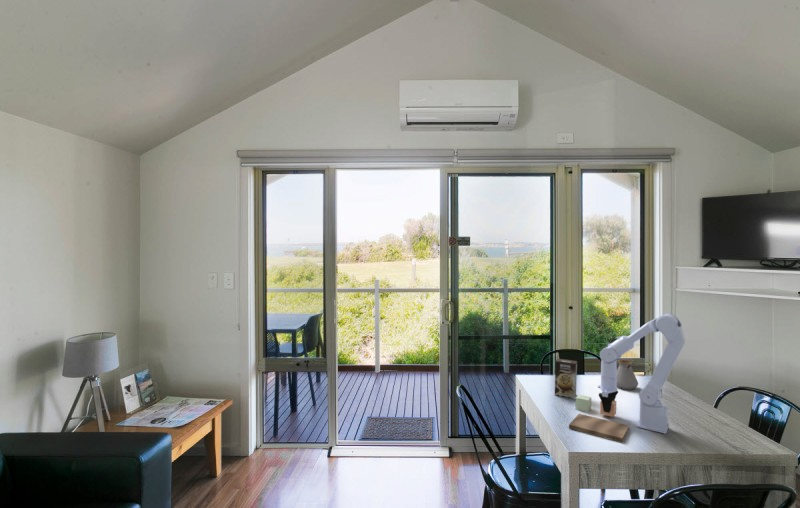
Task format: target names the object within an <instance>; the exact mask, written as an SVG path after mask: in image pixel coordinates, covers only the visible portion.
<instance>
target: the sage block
mask: <svg viewBox="0 0 800 508" xmlns="http://www.w3.org/2000/svg"><path fill="white" fill-rule="evenodd" d="M577 409H579V410H578V411H581V410H582V412H586V413H589V412H590V411H591V409H592V396H587V395H583V394H578V395H576V397H575V410H577Z"/></svg>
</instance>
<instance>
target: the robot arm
mask: <svg viewBox="0 0 800 508" xmlns="http://www.w3.org/2000/svg"><path fill="white" fill-rule="evenodd" d="M659 332H660V333H661V334H662V335H663V336H664V338H665V339H666V341H667V344H666V347H665V349H664V350H663V352H662V354H661V356H660V359H658V360H659V361H658V363H657V365H656V366H655V368H654V371H653V373H652V375H651V377H650V378H649V380H648V382H647V384H645V386H644V388H643V389H641V390H640V392H638V393H639V394H638V396H639V399H640V400H639V421H638V423H637V425H636V427H637V428H641V429H644V430H648V431H649V430H650V431H653V432H656V433H660V434H661V433H662V434H667V432H668V429H669V425H670V424H669V407H668V406H664V405H663V403H662V401H661V400H660V399H661V398H662V397H663V388H664V386H665V384H666V381H667V379H668V378H669V375H670V373H671V371H672V369H673V367H674V366H675V363H676V361H677V359H678V357H679V355H680V354H681V352H682V350H683V348H684V345H685V341H686V340H685V336H684V331H683V326H682V323H681V321H680V320H679V318H678V316H676V315H675V314H672V313H668V312H667V313H664V314H662V315H660V316H658V317H656V318H653V319H651V320H649V321H648V322H646V323H645V324H643V325H642V326H640V327H639V328H638V329H636V330H635V331H634V332H632V333H631V334H630V335H621V336H620V335H619V336H617V337H616V340H614V341H612V342H611V343H608V344H607V346H605V347H604V348H602V349H601V350H600V351H599V357H600V360H601V363H600V384H598V385H597V388H598V389H600V390H601V392H599V393H598V397H599V399H600V401H602V405H603V410H604V412H608V413H610V410H611V405H612V401H613V400H614V401H616V398H617V396H618V393H619V391H618V387H617V369H618V366H617V364H618V362H617V361H618V360H617V359H619V357H622V356H623V355H625V354H626V353H627V352H629V351H631V350H632V349H634V347H635V346H634V345H635V343H636V342H637V341H639V340H641V339H642V338H644V337H645V336H647V335H648V334H650V333H659Z"/></svg>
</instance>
